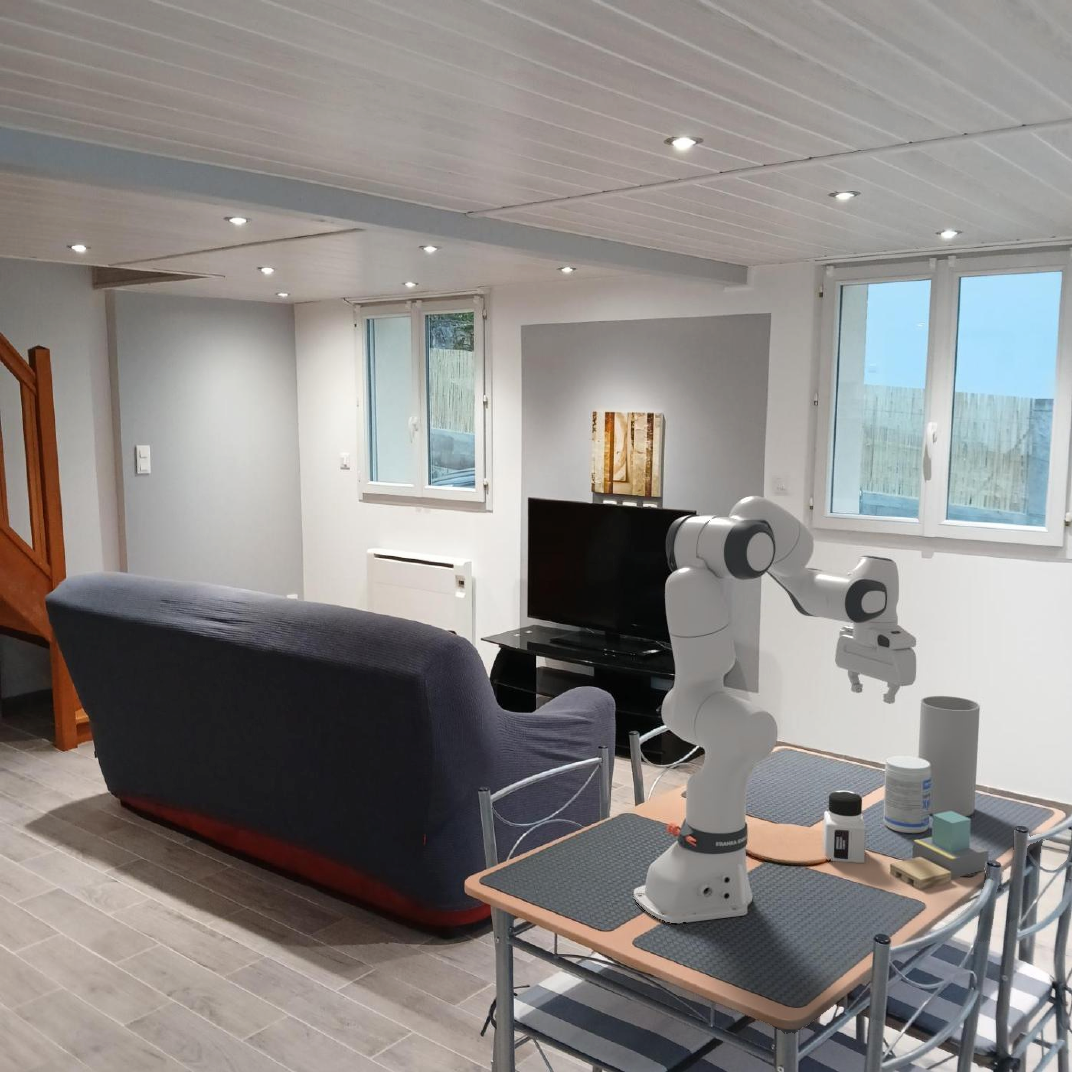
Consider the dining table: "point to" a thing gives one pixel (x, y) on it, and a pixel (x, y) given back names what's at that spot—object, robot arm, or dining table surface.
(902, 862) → the pallet
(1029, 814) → the dining table surface
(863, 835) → the container
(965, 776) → the cylinder vase
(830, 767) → the dining table surface
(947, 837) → the teal block
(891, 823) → the supplement tub
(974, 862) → the block
